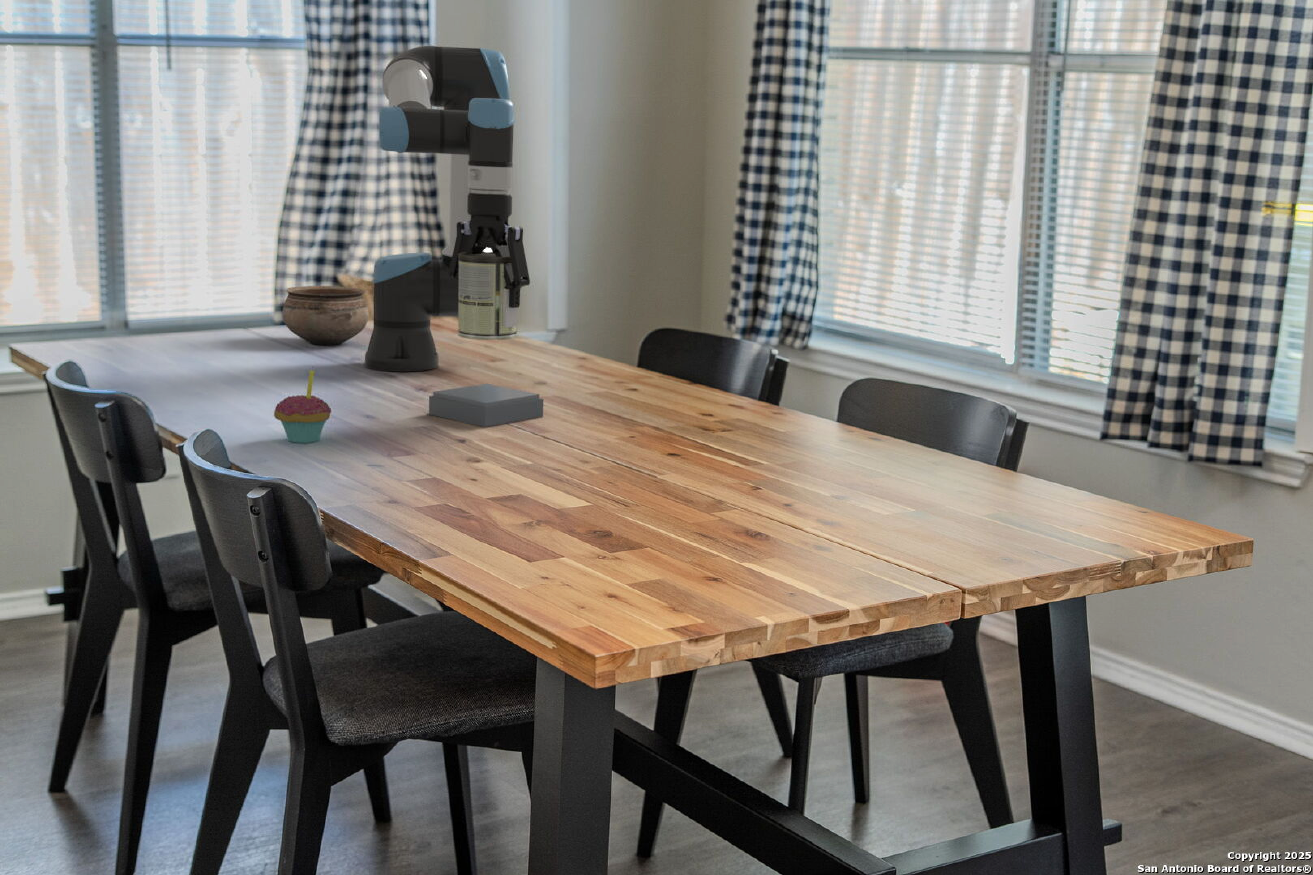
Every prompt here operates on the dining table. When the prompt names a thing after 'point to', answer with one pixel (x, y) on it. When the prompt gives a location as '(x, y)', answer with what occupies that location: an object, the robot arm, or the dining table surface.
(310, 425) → the cupcake
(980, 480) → the dining table surface
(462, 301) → the coffee can
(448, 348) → the dining table surface
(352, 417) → the dining table surface
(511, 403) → the pedestal
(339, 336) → the cooking pot
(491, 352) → the dining table surface
